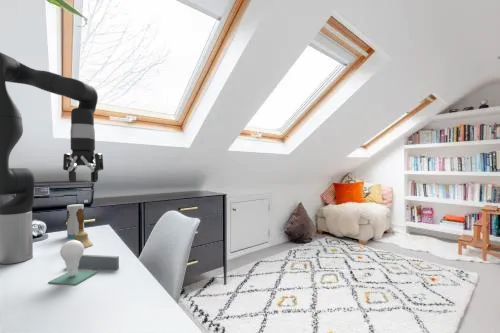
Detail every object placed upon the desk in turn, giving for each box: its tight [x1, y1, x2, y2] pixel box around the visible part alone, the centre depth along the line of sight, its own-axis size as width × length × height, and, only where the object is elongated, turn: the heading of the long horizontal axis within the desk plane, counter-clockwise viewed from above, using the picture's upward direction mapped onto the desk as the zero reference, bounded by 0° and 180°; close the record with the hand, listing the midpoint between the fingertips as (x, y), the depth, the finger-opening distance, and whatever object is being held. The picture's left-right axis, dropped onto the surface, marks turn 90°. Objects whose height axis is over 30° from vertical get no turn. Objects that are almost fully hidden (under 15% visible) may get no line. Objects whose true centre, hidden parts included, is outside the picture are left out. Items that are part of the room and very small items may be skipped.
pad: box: [47, 269, 99, 286], centre depth 82 cm, size 9×9×1 cm
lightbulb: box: [59, 239, 85, 277], centre depth 82 cm, size 6×6×11 cm
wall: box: [78, 254, 120, 271], centre depth 90 cm, size 18×1×4 cm, turn 82°
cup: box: [66, 203, 85, 239], centre depth 129 cm, size 7×7×15 cm
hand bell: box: [73, 208, 94, 249], centre depth 114 cm, size 8×8×16 cm
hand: (83, 182), depth 98 cm, fingers open, 8 cm apart
